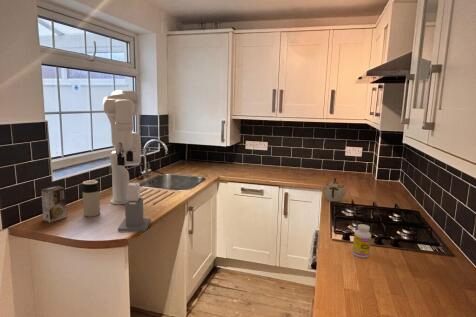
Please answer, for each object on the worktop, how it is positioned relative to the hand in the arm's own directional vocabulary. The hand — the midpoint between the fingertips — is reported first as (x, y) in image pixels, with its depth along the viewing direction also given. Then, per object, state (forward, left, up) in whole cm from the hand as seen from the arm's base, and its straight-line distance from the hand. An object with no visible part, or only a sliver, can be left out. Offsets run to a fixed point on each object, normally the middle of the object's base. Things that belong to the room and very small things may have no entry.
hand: (125, 163), depth 149 cm
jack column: (-1, +3, -30) cm, 31 cm away
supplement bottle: (+32, +104, -32) cm, 113 cm away
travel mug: (-18, -23, -32) cm, 43 cm away
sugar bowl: (-43, +123, -32) cm, 134 cm away
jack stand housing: (-1, +3, -32) cm, 32 cm away
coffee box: (-12, -39, -32) cm, 52 cm away
